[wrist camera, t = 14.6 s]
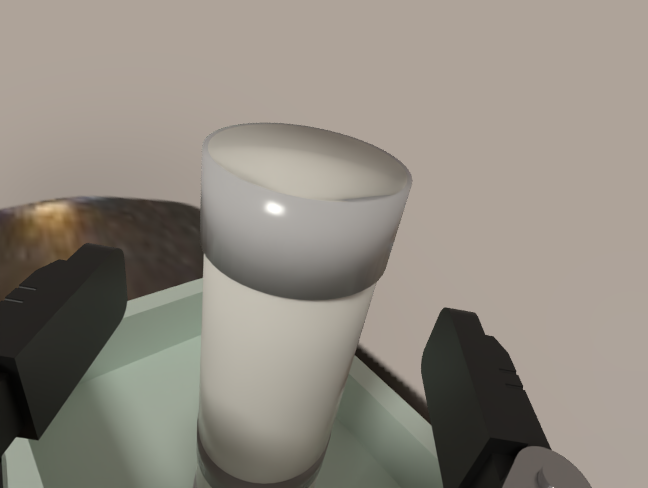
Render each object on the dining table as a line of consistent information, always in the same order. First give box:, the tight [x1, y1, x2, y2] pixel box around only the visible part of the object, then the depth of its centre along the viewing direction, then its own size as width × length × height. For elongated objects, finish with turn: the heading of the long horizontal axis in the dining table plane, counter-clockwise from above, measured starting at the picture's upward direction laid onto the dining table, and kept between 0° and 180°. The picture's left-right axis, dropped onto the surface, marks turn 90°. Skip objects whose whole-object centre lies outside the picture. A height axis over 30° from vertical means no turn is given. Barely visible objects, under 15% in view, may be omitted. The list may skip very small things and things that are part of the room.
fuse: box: [193, 123, 412, 488], centre depth 12 cm, size 4×4×14 cm
